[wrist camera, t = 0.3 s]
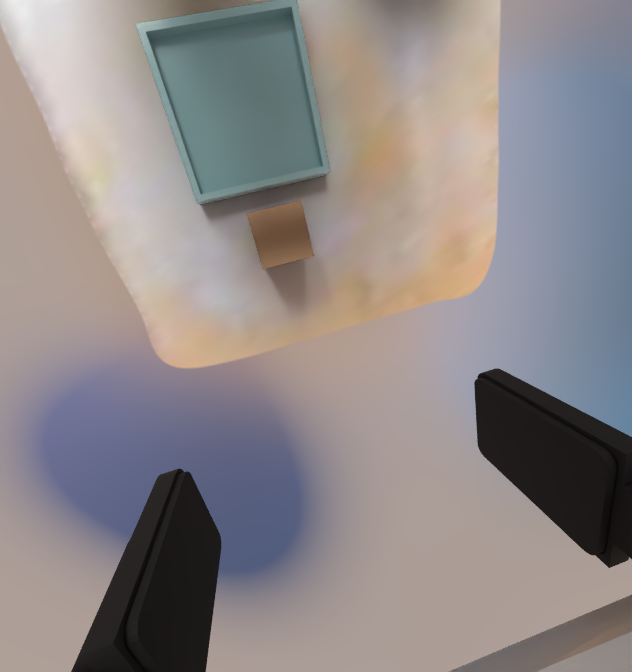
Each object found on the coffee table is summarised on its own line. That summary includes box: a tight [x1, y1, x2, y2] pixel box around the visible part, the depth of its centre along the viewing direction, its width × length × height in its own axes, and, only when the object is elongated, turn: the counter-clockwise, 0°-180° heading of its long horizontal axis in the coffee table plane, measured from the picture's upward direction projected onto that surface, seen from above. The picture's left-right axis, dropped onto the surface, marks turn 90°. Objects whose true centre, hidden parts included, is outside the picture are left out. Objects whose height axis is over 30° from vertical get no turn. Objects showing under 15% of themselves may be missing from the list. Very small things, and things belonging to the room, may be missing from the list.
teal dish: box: [136, 0, 330, 205], centre depth 29 cm, size 14×14×2 cm
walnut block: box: [247, 201, 314, 269], centre depth 30 cm, size 5×5×7 cm
